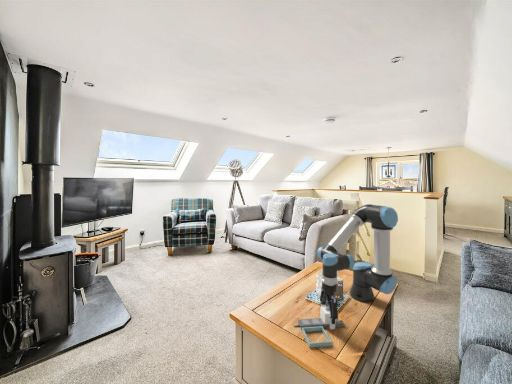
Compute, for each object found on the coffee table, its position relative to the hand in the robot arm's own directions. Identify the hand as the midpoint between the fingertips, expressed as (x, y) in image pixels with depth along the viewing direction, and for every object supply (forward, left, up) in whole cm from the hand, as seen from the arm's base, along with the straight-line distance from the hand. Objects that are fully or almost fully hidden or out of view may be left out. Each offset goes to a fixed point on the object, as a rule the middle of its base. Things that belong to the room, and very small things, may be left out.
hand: (327, 321), depth 121 cm
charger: (0, 0, -1) cm, 1 cm away
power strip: (+5, 0, -2) cm, 6 cm away
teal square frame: (+10, +9, -2) cm, 14 cm away
